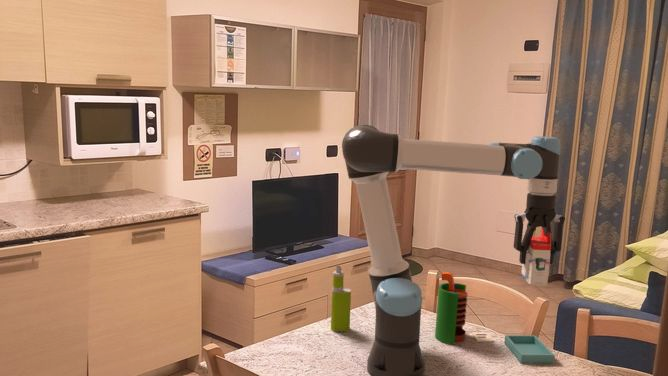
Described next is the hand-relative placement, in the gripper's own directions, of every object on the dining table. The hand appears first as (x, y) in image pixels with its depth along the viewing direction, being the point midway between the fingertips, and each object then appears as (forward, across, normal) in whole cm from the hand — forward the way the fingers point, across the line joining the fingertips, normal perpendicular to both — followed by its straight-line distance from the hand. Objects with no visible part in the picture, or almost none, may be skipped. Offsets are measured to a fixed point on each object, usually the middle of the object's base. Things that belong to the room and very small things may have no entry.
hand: (534, 274), depth 162 cm
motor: (+23, -20, +10) cm, 33 cm away
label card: (+23, -10, +10) cm, 27 cm away
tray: (+23, 0, 0) cm, 23 cm away
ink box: (+2, 0, 0) cm, 2 cm away
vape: (+23, -53, +16) cm, 60 cm away
